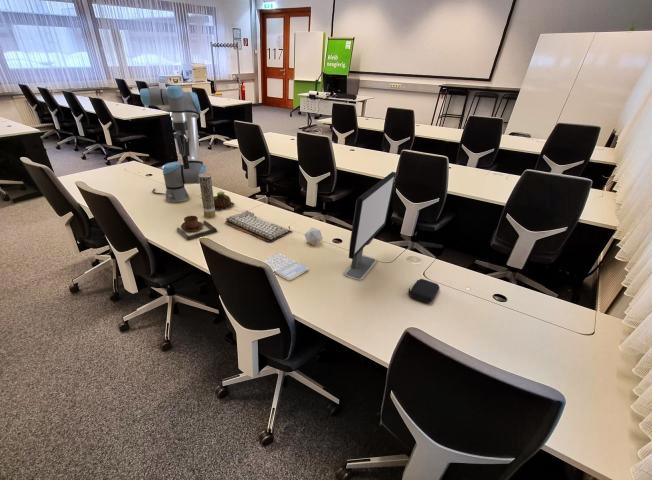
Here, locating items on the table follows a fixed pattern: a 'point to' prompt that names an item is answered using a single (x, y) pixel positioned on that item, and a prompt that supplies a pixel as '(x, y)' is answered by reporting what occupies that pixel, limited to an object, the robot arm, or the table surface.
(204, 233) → the bay
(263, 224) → the mechanical keyboard
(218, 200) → the dark brown mound
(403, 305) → the table surface
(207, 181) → the bark textured cylinder
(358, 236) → the computer monitor
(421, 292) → the carrying case
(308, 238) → the die
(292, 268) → the calculator
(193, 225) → the cup and saucer
